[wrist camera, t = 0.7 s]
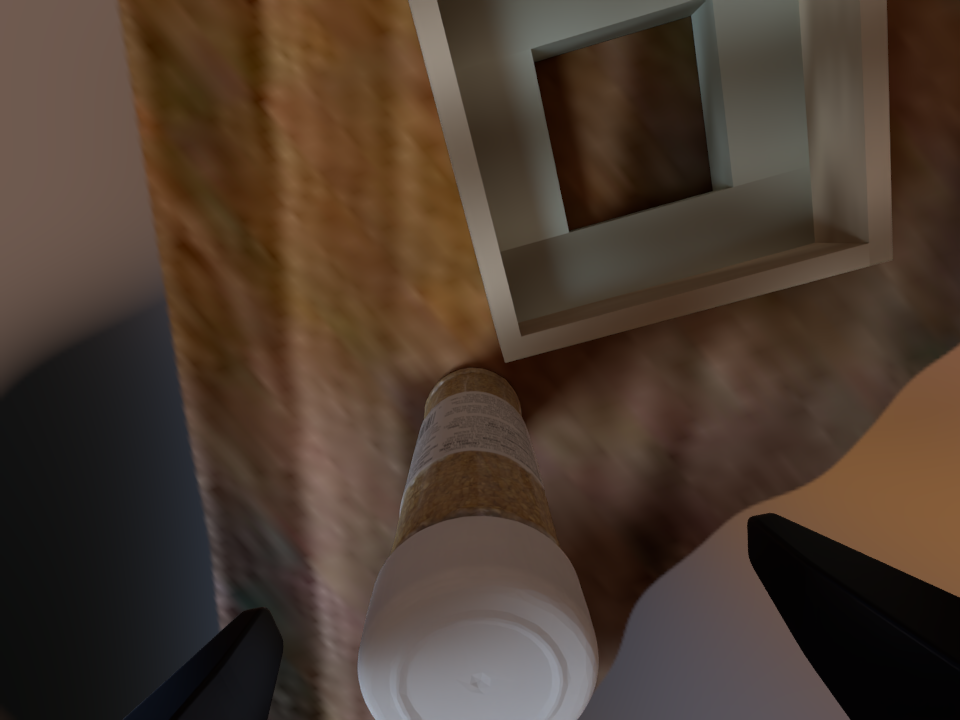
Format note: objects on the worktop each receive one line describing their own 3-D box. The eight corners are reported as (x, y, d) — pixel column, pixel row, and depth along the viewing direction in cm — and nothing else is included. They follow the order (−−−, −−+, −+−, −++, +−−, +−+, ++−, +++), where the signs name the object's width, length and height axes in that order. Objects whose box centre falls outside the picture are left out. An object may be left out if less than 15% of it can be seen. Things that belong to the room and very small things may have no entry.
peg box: (808, 255, 19) (893, 260, 16) (498, 339, 20) (505, 363, 16) (780, -135, 16) (880, -255, 12) (403, -18, 17) (383, -97, 13)
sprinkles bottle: (485, 471, 22) (508, 810, 9) (405, 422, 21) (304, 716, 8) (540, 397, 21) (657, 656, 8) (459, 344, 20) (442, 534, 7)
